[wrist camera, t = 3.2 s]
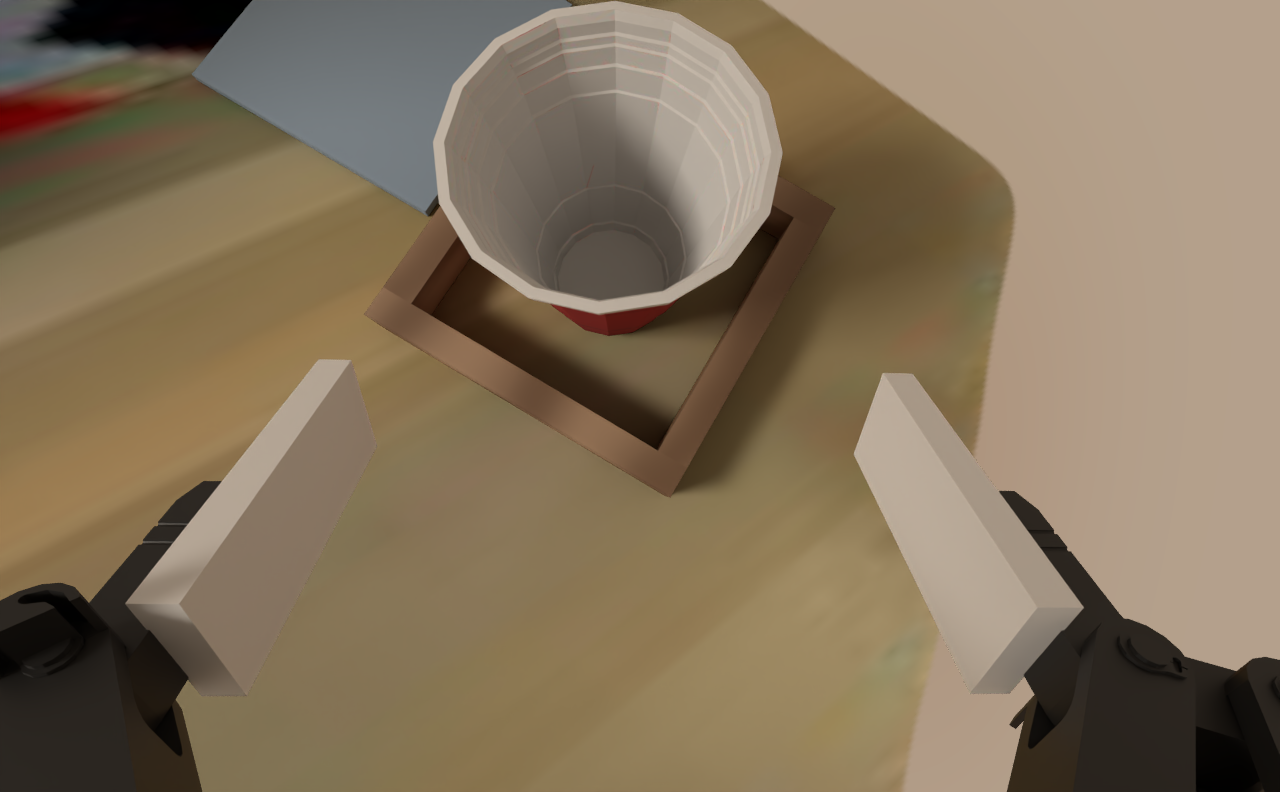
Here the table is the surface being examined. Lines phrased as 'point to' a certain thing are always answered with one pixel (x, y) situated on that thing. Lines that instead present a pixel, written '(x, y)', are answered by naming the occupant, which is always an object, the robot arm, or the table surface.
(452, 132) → the plastic cup
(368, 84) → the coaster
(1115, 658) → the robot arm
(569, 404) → the wooden frame
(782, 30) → the table surface
